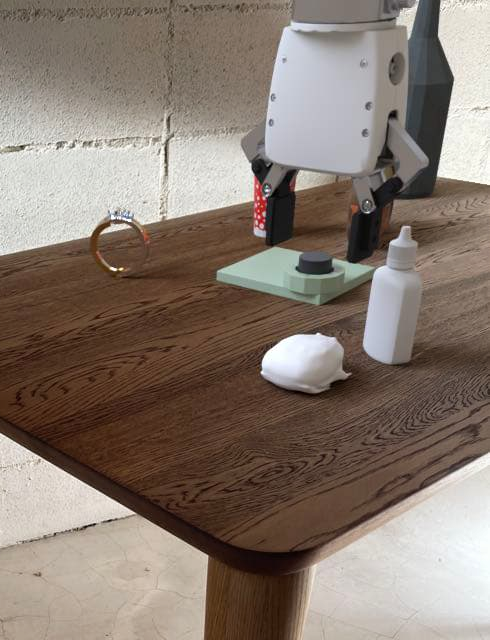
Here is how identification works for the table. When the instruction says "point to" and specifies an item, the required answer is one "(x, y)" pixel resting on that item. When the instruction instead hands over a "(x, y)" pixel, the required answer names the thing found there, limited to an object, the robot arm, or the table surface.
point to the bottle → (427, 95)
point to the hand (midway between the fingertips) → (318, 249)
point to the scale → (294, 276)
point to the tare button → (315, 263)
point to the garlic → (304, 363)
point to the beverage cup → (261, 208)
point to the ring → (119, 218)
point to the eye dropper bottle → (394, 304)
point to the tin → (354, 206)
